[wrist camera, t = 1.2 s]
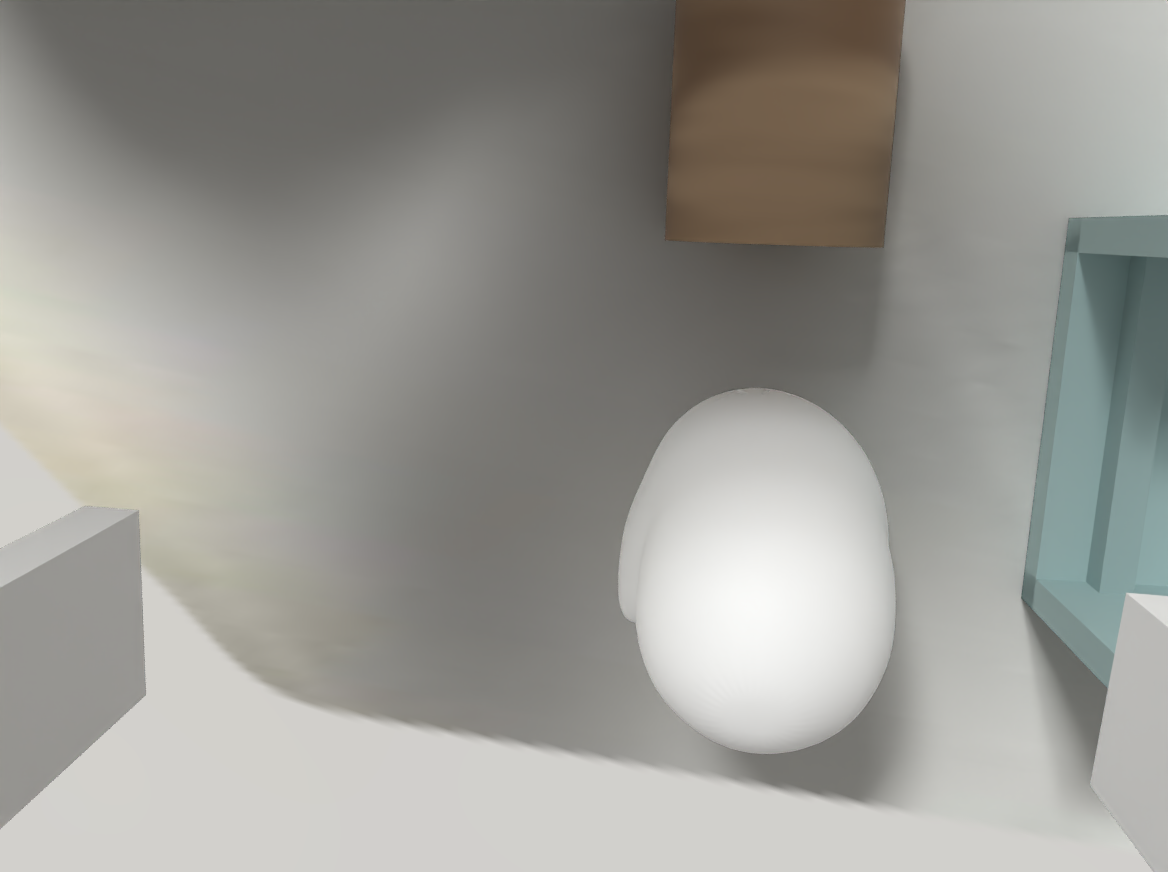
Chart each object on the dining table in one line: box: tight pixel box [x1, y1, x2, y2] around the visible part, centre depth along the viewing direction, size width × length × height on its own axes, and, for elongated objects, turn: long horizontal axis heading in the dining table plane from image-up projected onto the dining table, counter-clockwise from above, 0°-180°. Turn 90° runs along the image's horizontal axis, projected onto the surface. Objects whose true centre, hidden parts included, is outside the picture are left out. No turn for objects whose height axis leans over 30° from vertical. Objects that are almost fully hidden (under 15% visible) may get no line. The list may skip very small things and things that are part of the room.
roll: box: [665, 0, 906, 248], centre depth 27 cm, size 8×6×6 cm
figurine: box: [618, 388, 896, 754], centre depth 27 cm, size 7×8×12 cm
